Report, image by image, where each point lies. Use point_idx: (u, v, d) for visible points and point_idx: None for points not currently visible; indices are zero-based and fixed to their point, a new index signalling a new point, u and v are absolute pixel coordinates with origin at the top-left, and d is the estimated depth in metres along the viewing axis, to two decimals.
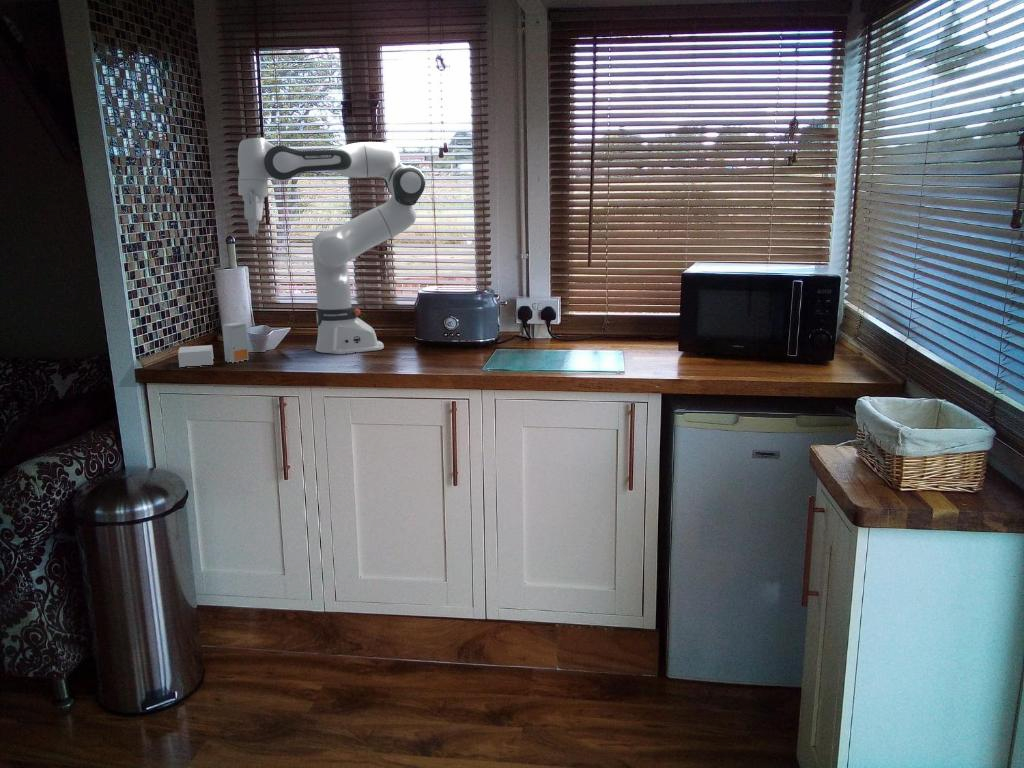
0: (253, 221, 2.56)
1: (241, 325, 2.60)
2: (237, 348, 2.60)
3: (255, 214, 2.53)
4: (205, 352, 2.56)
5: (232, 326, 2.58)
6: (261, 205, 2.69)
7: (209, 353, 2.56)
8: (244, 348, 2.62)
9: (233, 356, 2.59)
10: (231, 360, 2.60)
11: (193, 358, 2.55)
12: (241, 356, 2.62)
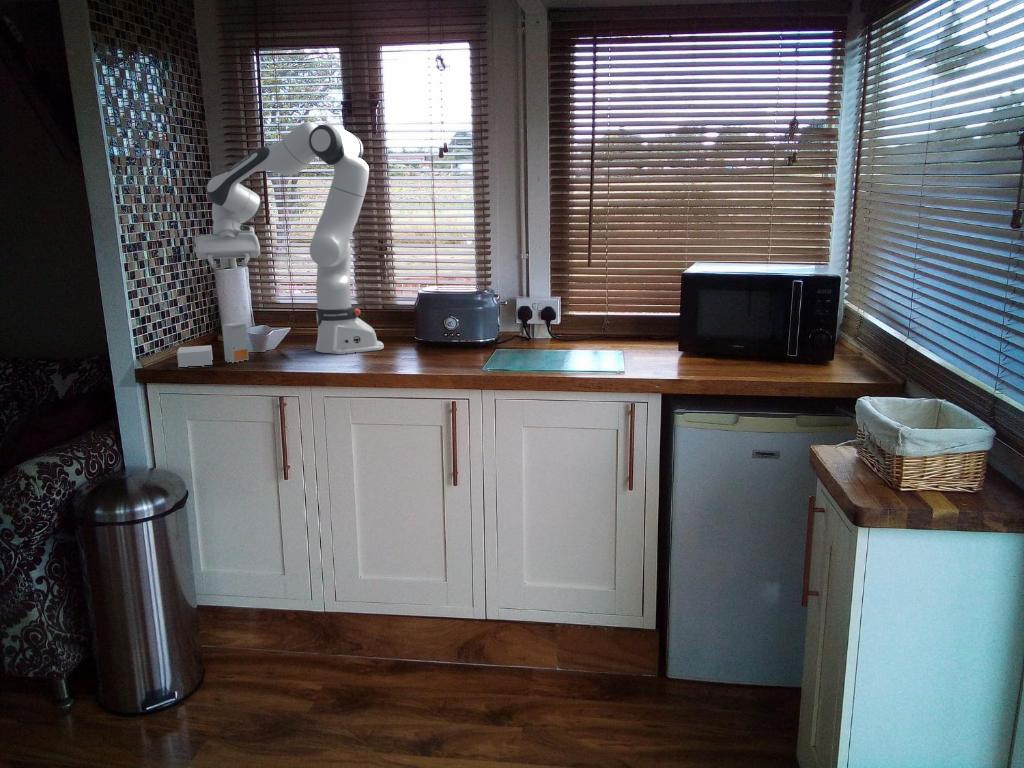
0: None
1: (241, 325, 2.60)
2: (236, 348, 2.60)
3: (196, 249, 2.70)
4: (204, 352, 2.56)
5: (232, 326, 2.58)
6: (251, 239, 2.77)
7: (208, 353, 2.56)
8: (244, 348, 2.62)
9: (233, 356, 2.59)
10: (231, 360, 2.60)
11: (192, 358, 2.55)
12: (241, 356, 2.62)
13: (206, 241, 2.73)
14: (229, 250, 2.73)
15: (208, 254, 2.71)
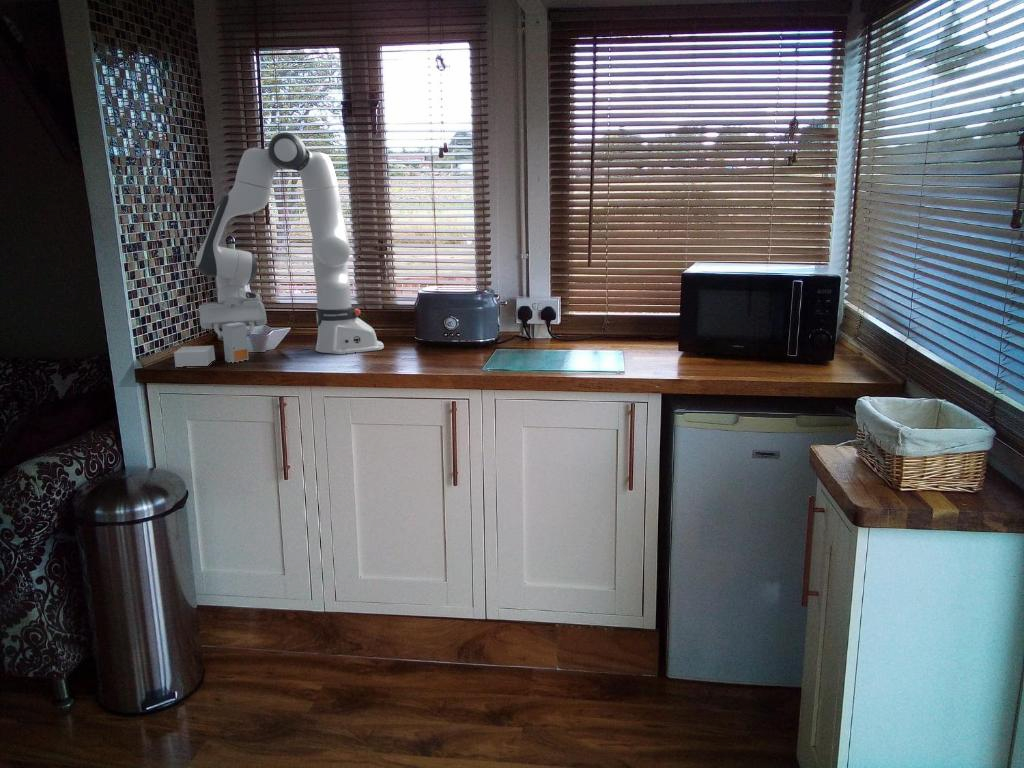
0: (213, 326, 2.61)
1: (241, 325, 2.60)
2: (236, 348, 2.60)
3: (200, 319, 2.61)
4: (200, 353, 2.55)
5: (232, 326, 2.58)
6: (257, 307, 2.67)
7: (204, 354, 2.55)
8: (244, 348, 2.62)
9: (233, 356, 2.59)
10: (231, 360, 2.60)
11: (189, 358, 2.55)
12: (241, 356, 2.62)
13: (211, 310, 2.63)
14: (235, 319, 2.63)
15: (214, 324, 2.61)
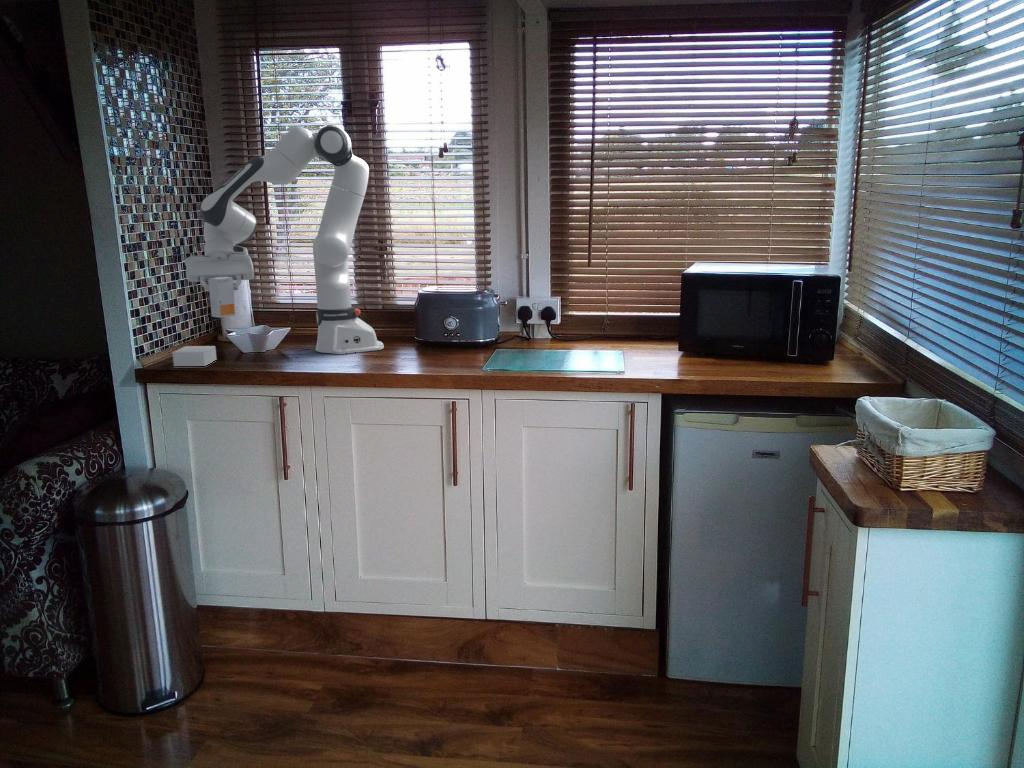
0: (200, 278, 2.57)
1: (228, 279, 2.56)
2: (223, 303, 2.56)
3: (186, 272, 2.57)
4: (197, 353, 2.54)
5: (218, 279, 2.54)
6: (245, 261, 2.63)
7: (201, 354, 2.54)
8: (231, 303, 2.58)
9: (219, 310, 2.56)
10: (217, 314, 2.56)
11: (186, 358, 2.55)
12: (228, 311, 2.58)
13: (197, 263, 2.59)
14: (221, 272, 2.59)
15: (201, 277, 2.57)
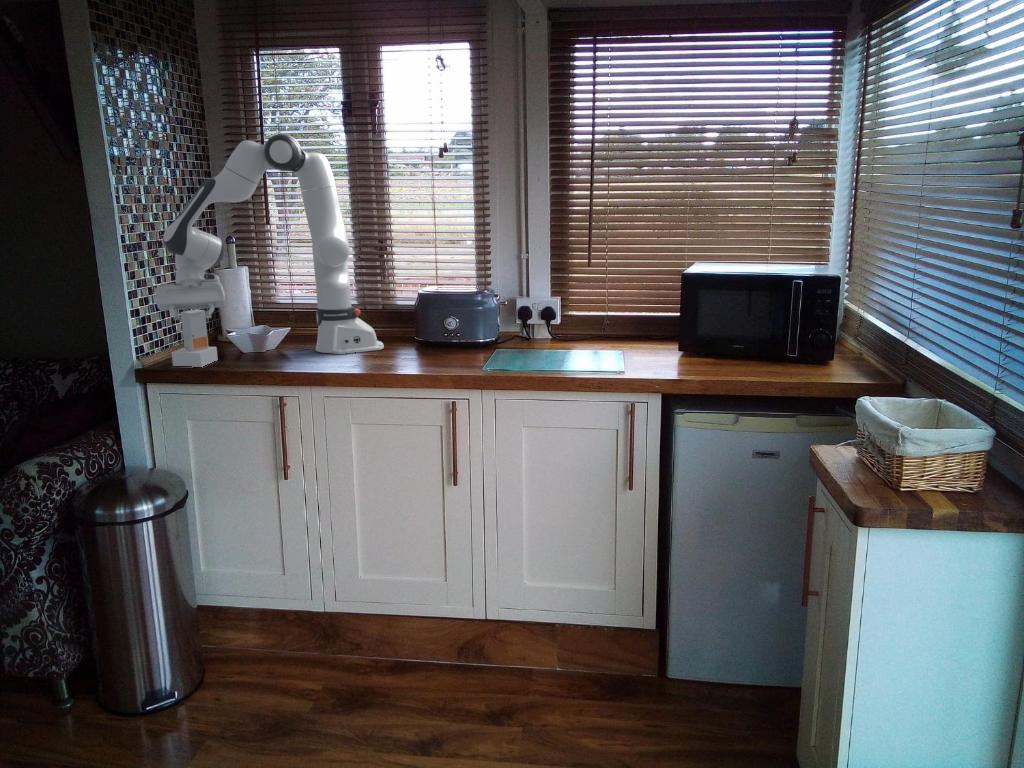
0: (169, 307, 2.57)
1: (200, 312, 2.56)
2: (196, 336, 2.56)
3: (157, 301, 2.57)
4: (195, 354, 2.54)
5: (190, 313, 2.54)
6: (216, 288, 2.63)
7: (198, 355, 2.54)
8: (204, 336, 2.59)
9: (192, 344, 2.56)
10: (190, 348, 2.56)
11: (184, 359, 2.55)
12: (201, 344, 2.58)
13: (168, 291, 2.59)
14: (192, 301, 2.59)
15: (170, 305, 2.57)
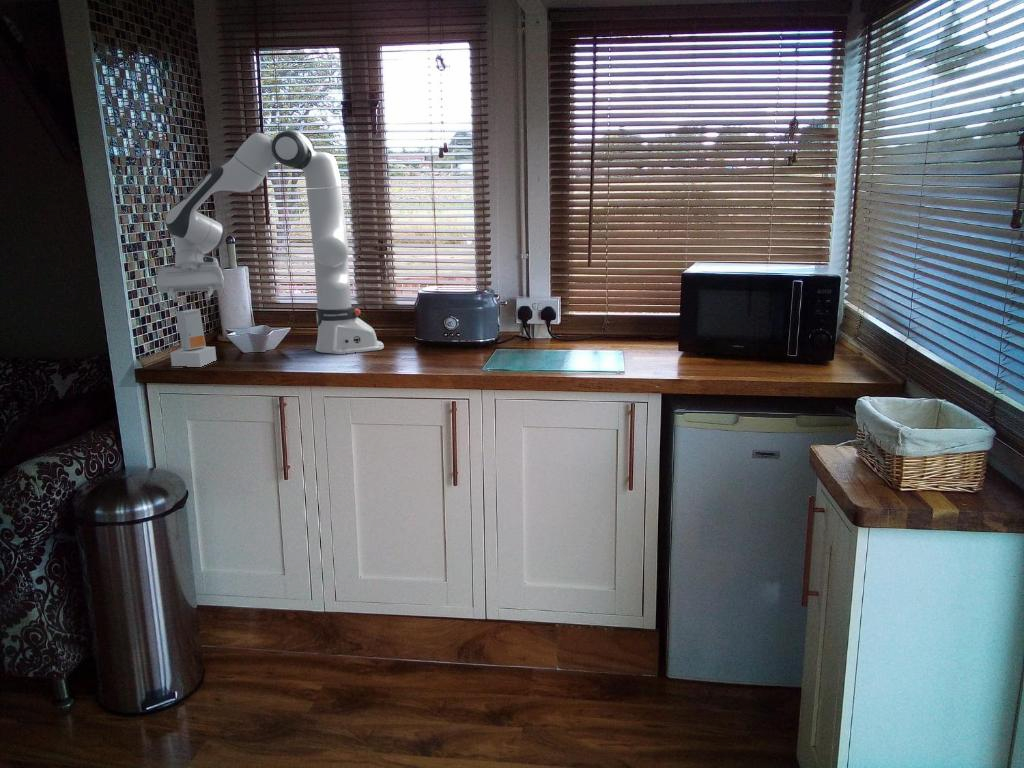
0: (168, 289, 2.61)
1: (195, 311, 2.57)
2: (192, 335, 2.56)
3: (156, 283, 2.60)
4: (194, 354, 2.54)
5: (186, 312, 2.54)
6: (215, 271, 2.66)
7: (197, 355, 2.54)
8: (200, 334, 2.58)
9: (189, 343, 2.56)
10: (187, 347, 2.56)
11: (183, 359, 2.55)
12: (198, 343, 2.58)
13: (167, 274, 2.62)
14: (191, 283, 2.62)
15: (169, 288, 2.60)
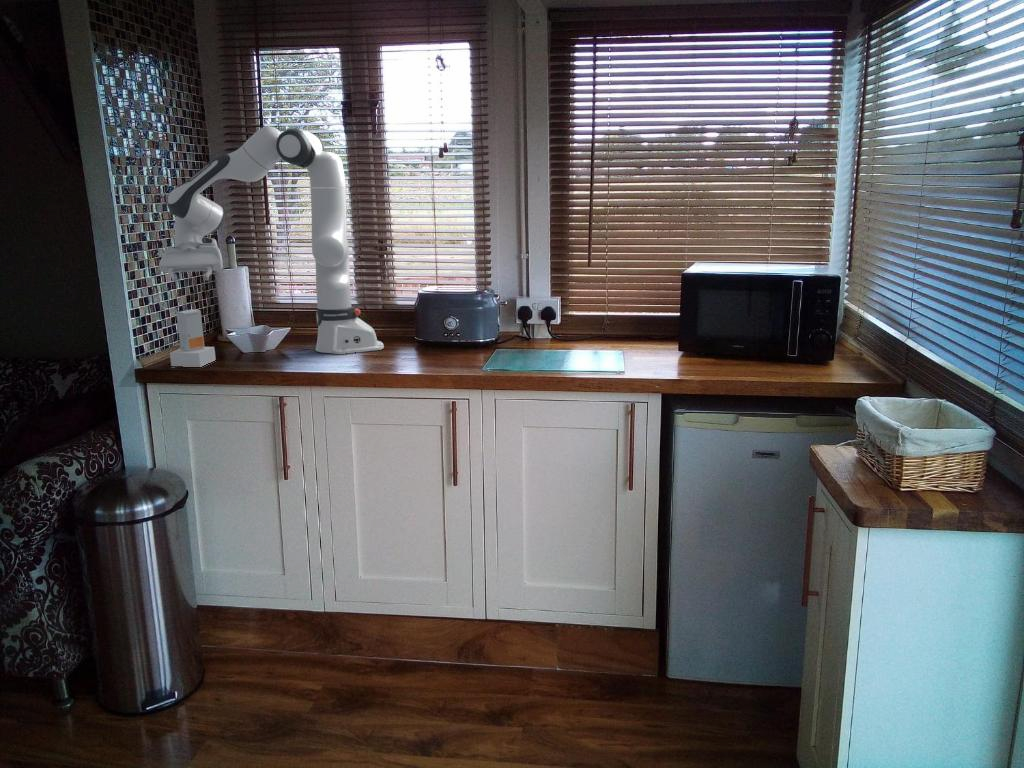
0: (168, 269, 2.64)
1: (196, 312, 2.56)
2: (192, 336, 2.56)
3: None
4: (193, 354, 2.54)
5: (186, 313, 2.53)
6: (213, 252, 2.70)
7: (197, 355, 2.54)
8: (199, 336, 2.58)
9: (188, 344, 2.55)
10: (186, 348, 2.56)
11: (183, 359, 2.55)
12: (197, 344, 2.58)
13: (167, 254, 2.66)
14: (190, 263, 2.66)
15: (169, 268, 2.64)
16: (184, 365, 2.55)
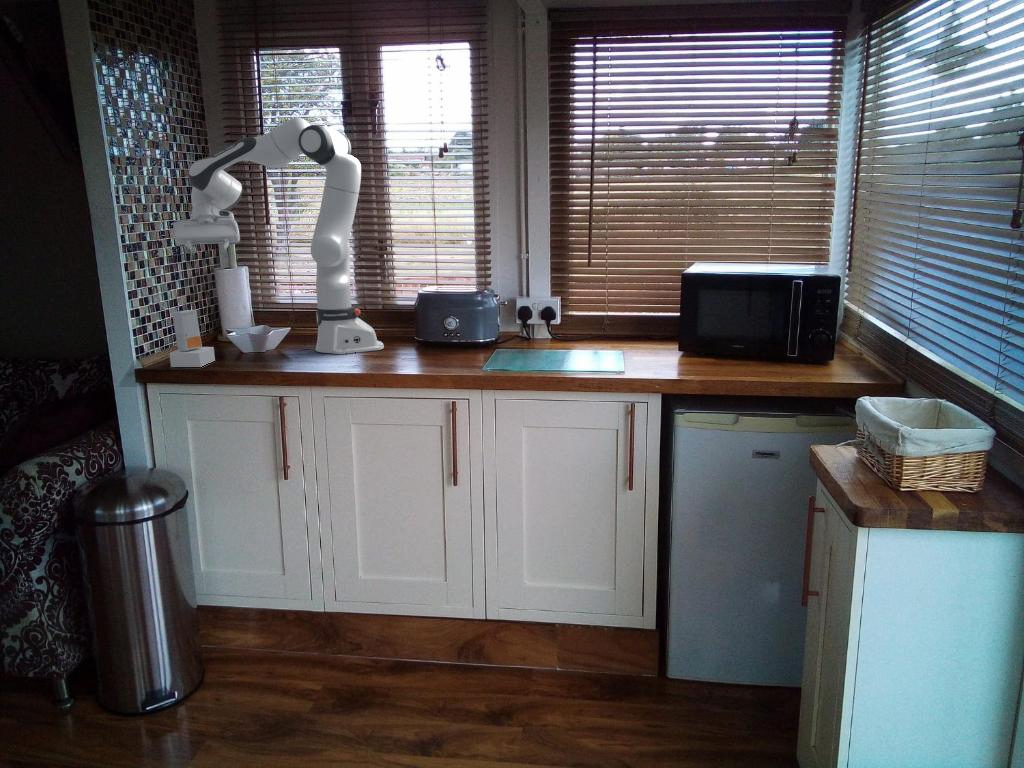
0: (186, 241, 2.68)
1: (192, 312, 2.56)
2: (189, 335, 2.55)
3: (174, 235, 2.68)
4: (194, 354, 2.53)
5: (183, 313, 2.53)
6: (231, 224, 2.74)
7: (197, 355, 2.53)
8: (197, 335, 2.58)
9: (186, 343, 2.55)
10: (184, 348, 2.55)
11: (183, 359, 2.54)
12: (194, 343, 2.57)
13: (185, 226, 2.70)
14: (208, 235, 2.70)
15: (187, 239, 2.68)
16: (184, 365, 2.55)
